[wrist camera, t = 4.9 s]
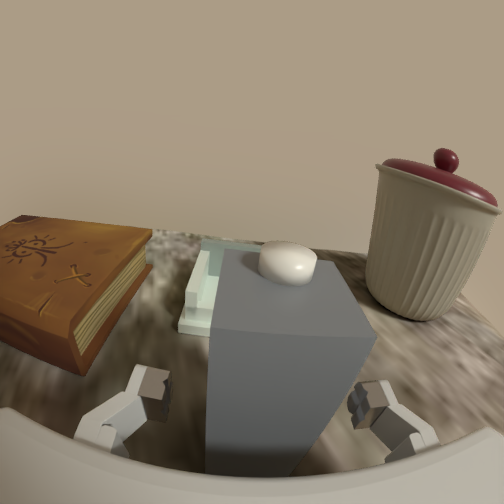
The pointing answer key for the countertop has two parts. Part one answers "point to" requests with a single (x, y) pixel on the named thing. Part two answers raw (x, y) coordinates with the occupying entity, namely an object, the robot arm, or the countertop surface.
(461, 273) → the canister
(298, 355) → the grey block with knob
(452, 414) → the countertop surface
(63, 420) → the countertop surface
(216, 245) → the pocket
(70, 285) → the diary
